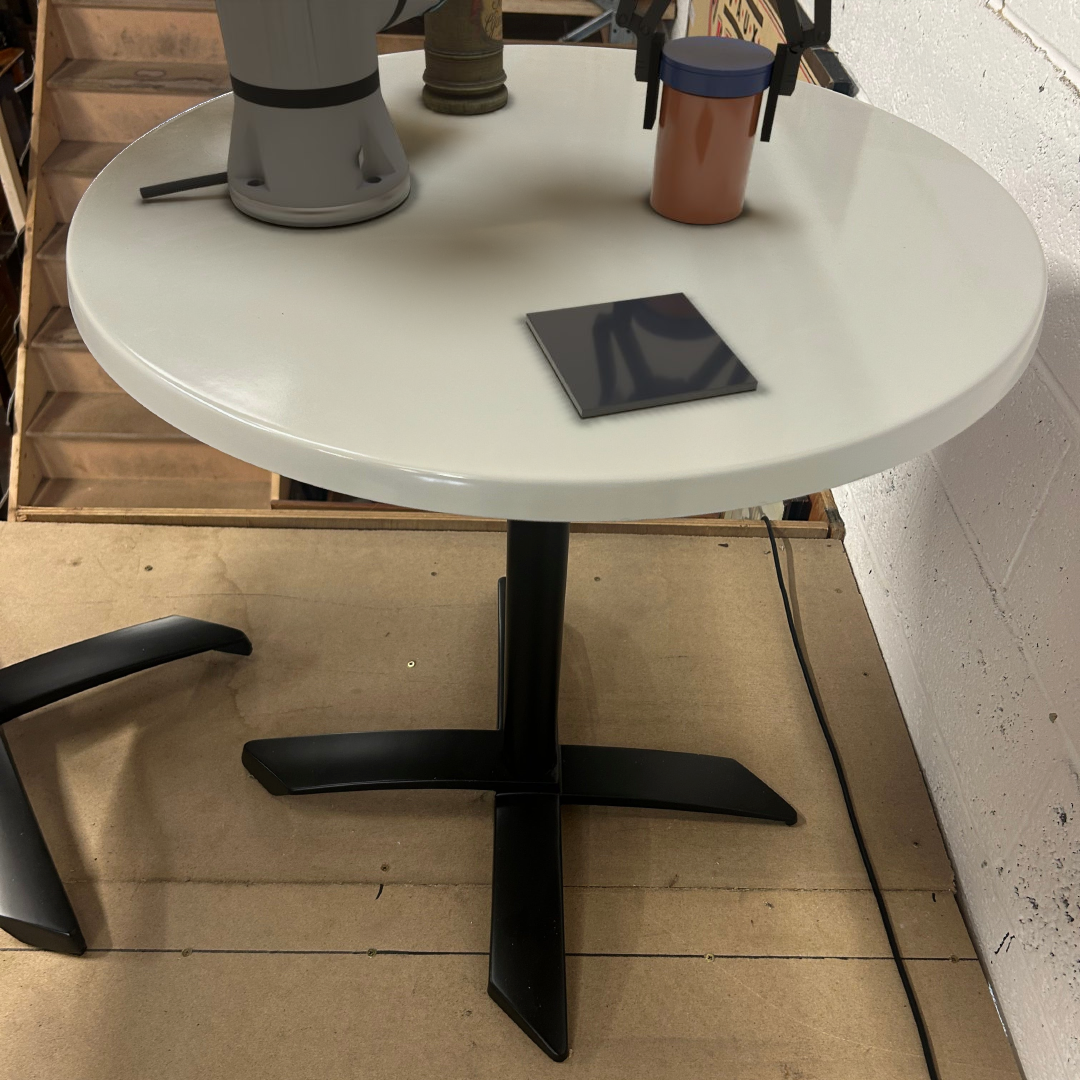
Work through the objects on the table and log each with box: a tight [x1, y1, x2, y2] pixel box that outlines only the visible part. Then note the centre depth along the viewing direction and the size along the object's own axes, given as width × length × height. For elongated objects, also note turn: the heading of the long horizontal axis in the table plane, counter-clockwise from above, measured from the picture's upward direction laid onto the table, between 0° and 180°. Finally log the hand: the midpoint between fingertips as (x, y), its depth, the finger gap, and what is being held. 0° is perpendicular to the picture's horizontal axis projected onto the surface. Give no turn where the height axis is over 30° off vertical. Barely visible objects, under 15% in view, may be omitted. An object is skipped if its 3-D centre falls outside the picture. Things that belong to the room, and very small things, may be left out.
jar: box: [649, 82, 765, 225], centre depth 75 cm, size 8×8×12 cm
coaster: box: [525, 291, 759, 419], centre depth 62 cm, size 12×12×1 cm
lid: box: [659, 35, 776, 97], centre depth 72 cm, size 9×9×2 cm
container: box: [421, 0, 509, 115], centre depth 90 cm, size 9×9×18 cm
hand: (706, 129), depth 75 cm, fingers closed on lid, 9 cm apart
